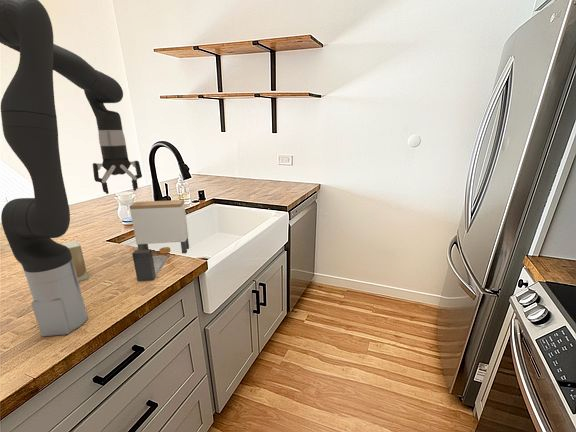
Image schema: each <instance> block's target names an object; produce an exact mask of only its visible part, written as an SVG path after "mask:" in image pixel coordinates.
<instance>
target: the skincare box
mask: <svg viewBox="0 0 576 432" xmlns="http://www.w3.org/2000/svg"><path fill="white" fill-rule="evenodd" d="M61 244H62V245H64V246H66V247H68V248H69V249H70V252H71V255H72V259H73V263H74V267H75V271H76V274H77V278H78V282H79V283H80V282H82V281H85V280H88V279H89V274H88V271H87V267H86V262H85V259H84V255H83V251H82V246H81V244H80V243H79V241H78V240H77V239H76V240H72V241H69V242H63V243H61Z"/></svg>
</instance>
